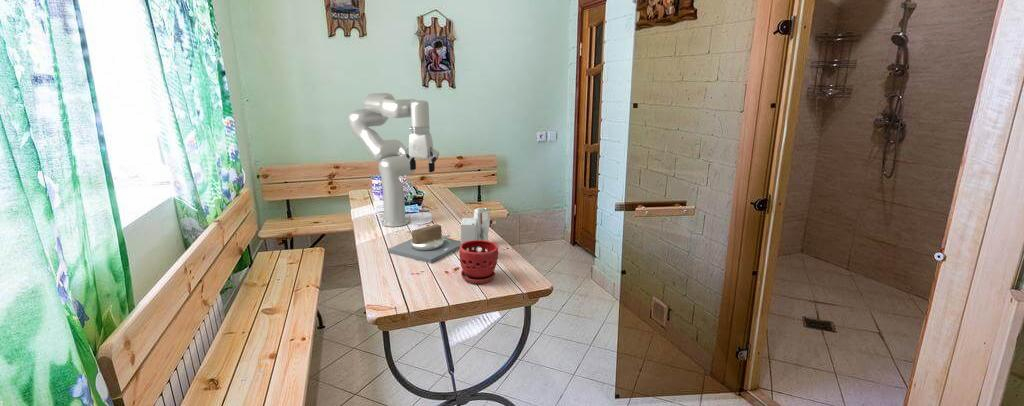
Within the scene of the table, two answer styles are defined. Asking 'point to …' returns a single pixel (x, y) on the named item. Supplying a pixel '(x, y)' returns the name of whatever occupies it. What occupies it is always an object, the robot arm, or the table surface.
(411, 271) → the table surface
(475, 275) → the plant pot
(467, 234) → the skincare box
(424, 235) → the tuning dial
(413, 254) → the dial plate
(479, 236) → the beer glass
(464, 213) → the table surface
